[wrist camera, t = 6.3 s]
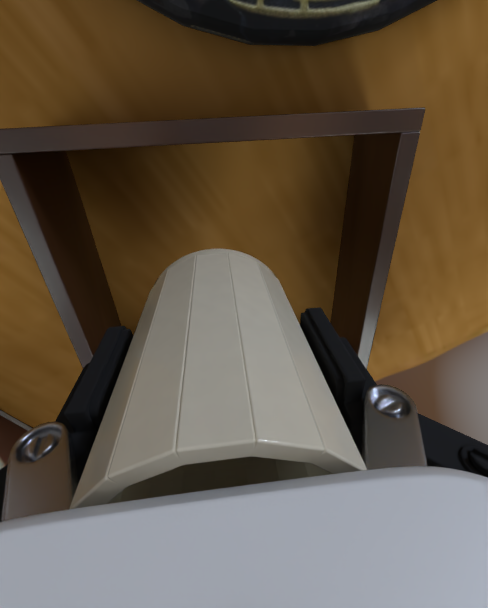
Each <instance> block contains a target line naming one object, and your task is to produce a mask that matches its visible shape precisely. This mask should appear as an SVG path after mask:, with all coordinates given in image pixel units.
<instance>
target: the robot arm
mask: <svg viewBox="0 0 488 608" xmlns="http://www.w3.org/2000/svg"><path fill="white" fill-rule="evenodd" d="M300 327H301V329H302V331H303V333H304V335H305V337H306V339H307V342H308V344H309V346H310V348H311V350H312V352H313V354H314V357H315V359H316V361H317V363H318V365H319V367H320V369H321V372H322V374H323V376H324V378H325V380H326V382H327V384H328V387H329V389H330V391H331V393H332V395H333V397H334V399H335V402H336V404H337V406H338V408H339V410H340V412H341V414H342V417H343V419H344V421H345V423H346V425H347V427H348V429H349V432H350V434H351V436H352V438H353V440H354V442H355V444H356V446H357V449H358V451H359V453H360V455H361V457H362V459H363V461H364V464H365V466H366V468H367V470H364V471H355V472H345V473H337V474H329V475H321V476H313V477H306V478H298V479H290V480H282V481H274V482H266V483H259V484H251V485H243V486H236V487H228V488H221V489H213V490H205V491H198V492H190V493H183V494H175V495H168V496H161V497H153V498H146V499H139V500H132V501H124V502H117V503H110V504H103V505H95V506H88V507H82V508H75V509H69V508H70V505H71V503H72V500H73V497H74V495H75V492H76V489H77V486H78V484H79V481H80V478H81V476H82V473H83V470H84V468H85V465H86V462H87V460H88V457H89V454H90V452H91V449H92V446H93V443H94V441H95V438H96V435H97V433H98V430H99V427H100V425H101V422H102V419H103V417H104V414H105V411H106V408H107V406H108V403H109V400H110V398H111V395H112V392H113V390H114V387H115V384H116V382H117V379H118V376H119V374H120V371H121V368H122V365H123V363H124V360H125V357H126V355H127V352H128V349H129V347H130V344H131V341H132V339H133V335H132V332H131V330H130V329H126V327H125V326H118V327H109V328H108V329H107V331H106V332H105V334H104V336H103V338H102V340H101V342H100V344H99V346H98V348H97V350H96V352H95V354H94V356H93V358H92V359H91V361H90V363H88V364H86V365H85V367H84V368H83V370H82V372H81V374H80V376H79V378H78V380H77V382H76V383H75V385H74V387H73V389H72V391H71V393H70V395H69V397H68V398H67V400H66V402H65V404H64V406H63V408H62V410H61V412H60V414H59V415H58V417H57V419H56V421H55V422H47V423H43V424H40V425H38V426H36V427H34V428H32V429H30V430H29V431H28V432H26V433H25V434H23V435H22V436H21V437H20V438H19V439H18V440H17V441H16V443H15V444H14V446H13V447H12V449H11V451H10V454H9V458H8V464H7V465H6V466H4V467H3V468H1V469H0V608H488V445H486V444H484V443H482V442H480V441H477V440H475V439H473V438H471V437H469V436H466V435H464V434H462V433H460V432H457V431H455V430H453V429H451V428H449V427H447V426H445V425H442V424H440V423H438V422H436V421H434V420H431V419H429V418H427V417H425V416H423V415H421V414H418V413H417V409H416V405H415V403H414V401H413V400H412V399H411V398H410V396H409V395H407V394H406V393H405V392H404V391H402V390H400V389H398V388H396V387H393V386H390V385H377V384H376V383H375V381H374V380H373V378H372V377H371V375H370V374H369V372H368V371H367V369H366V368H365V366H364V365H363V363H362V362H361V360H360V359H359V357H358V356H357V354H356V352H355V351H354V349H353V348H352V346H351V345H350V343H349V342H348V340H347V339H346V338H344V337H339V336H338V334H337V333H336V331H335V329H334V328H333V326H332V325H331V323H330V322H329V320H328V318H327V317H326V315H325V314H324V312H323V310H322V309H321V308H309V309H306V311H305V312H304V313H301V320H300Z"/></svg>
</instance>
